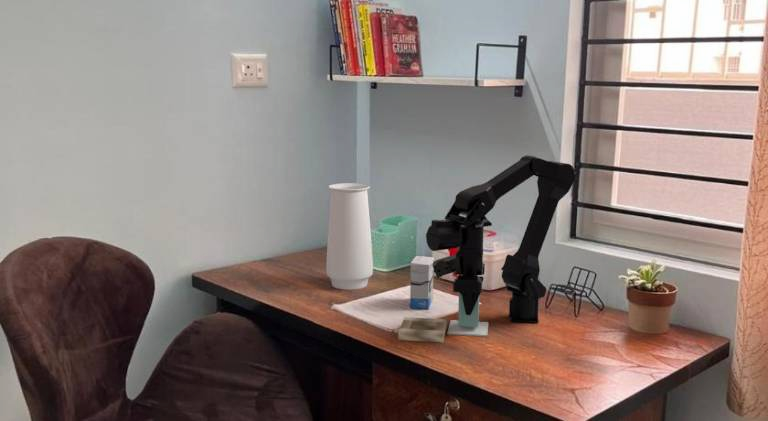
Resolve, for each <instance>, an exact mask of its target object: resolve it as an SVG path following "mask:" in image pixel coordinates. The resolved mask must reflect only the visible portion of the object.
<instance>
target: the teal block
mask: <svg viewBox="0 0 768 421" xmlns="http://www.w3.org/2000/svg"><path fill="white" fill-rule="evenodd" d="M457 314H458V319H457V320H458V326H469V327H478V322H480V318H479V317H480V296H479V297H478V300H477V302H476V304H475V306H474V309H473V311H472V313H471V315H466V313H465V308H464V303H463V299H462V295H461V294H460V293H459V292H458V313H457Z"/></svg>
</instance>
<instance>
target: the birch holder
mask: <svg viewBox="0 0 768 421" xmlns="http://www.w3.org/2000/svg"><path fill="white" fill-rule="evenodd" d="M447 329H448V319H447V318H446V319H444V318H443V319H442V318H431V317H430V318H429V317H427V318H426V317H411V316H410V317H409V316H405V317H404V318H403V319H402V322H401V324H400V327H399V329H398V332H397V334H398V335H397V340H398V341H412V342H428V343H443V344H444V340H445V336H446V332H447Z"/></svg>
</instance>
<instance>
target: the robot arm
mask: <svg viewBox="0 0 768 421" xmlns="http://www.w3.org/2000/svg"><path fill="white" fill-rule="evenodd" d="M576 174H577V173H576V172H575V168H574V166H573V165H571V164H570V163H565V162H559V161H553V160H545V159H542V158H540V157H539V156H534V155H524V156H522V157H520V159H519V160H518V161H516V162H515V163H514V164H512V165H510V166H509V167H508V168H506V169H504V170H503V171H501V172H499V174H497V175H496V176H494V177H492V178H490V179H489V180H488V181H485V182H484V183H482V184H477V185H474V186H473V185H472V186H471V187H470V186H469V187H468V188H466V189H463V190H461V191H460V192H458V193H457V194H456V196H455V199H454V200H455V201H454V203H453V204H452V205H451V207H450V208H449V210H448V212H447V213H446V215H445V216H444V219H432V220H431V225H430V226H429V227H428V228H427V231H426V233H425V240H426V243H427V244H426V245H427V246H428V248H429V250H431V251H432V252H436V251H445V250H454V249H456V251H455V254H453V255H448V256H445V257H442V258H439V259H436V260H433V265H432V266H433V274H435V276H436V278H437V279H439V278H442V277H443V276H446V275H448V274H453V273H454V275H455V276H456V277H455V278H453V279H454V280H453V282H452V283H453V284H452V285H453V286H452V287H453V290H452V291H453V292H454V293H458V294H459V293H460V294H461V295H462V299H463V303H464V308H465V313H466V315H471V313H472V311H473V309H474V306H475V304H476V302H477V300H478V297H479V298H480V295H481V294H482V291H483V282H484V275H485V272H486V271H485V269H486V264H485V263H484V261H483V260H484V258H483V257H484V227H491V226H493V223H492V222H491V221H490V220H489V219H488V218H487V217H486V215H487V214H488V213H490V212H491V211H492V210H493V209H494V207H495V205H496V203H497V202H498V200H499V199H501V198H502V197H503V196H505V195H506V194H508V193H509V192H510V191H512V190H514V189H516V188H517V187H519V185H521V184H523V183H524V182H526V181H527V180H529V179H530V178H531V177H533V176H535V177H537V181H536V182H537V191H538V195H537V199H536V201H535V203H534V207H533V209H532V212H531V215H530V218H529V221H528V223H527V226H526V229H525V231H524V234H523V237H522V239H521V242H520V245H519V248H518V250H517V251H516V252H514V254H512V255H511V254H507V255H506V257H505V260H504V263H503V266H502V267H501V268H500V270H501V271H502V272H501V278H502V281H503V283H504V284H505V287H506V290H507V291H508V292H511V293H512V294H511V296H510V297H509V304H508V305H509V308H508V309H509V310H508V316H509V318H510V321H511V322H517V323H518V322H519V323H539V302H540V301H539V300H540V299H542V298H544V297H545V296H546V292H547V287H545V285H543V283H542V282H541V281H540V280H539V277H540V276H539V275H540V271H541V270H540V268H541V267H540V262H539V255H540V254H541V251H542V248H543V245H544V242H545V240H546V237H547V234H548V232H549V228H550V226H551V223H552V220H553V217H554V215H555V213H556V210H557V206H558V204H559V202H560V201H561V199H563V198H564V197H565V196H566V195H567V194H568V193H569V192H570V190H571V188H572V186H573V184H574V182H575V180H576V176H577V175H576Z"/></svg>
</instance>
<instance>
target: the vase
mask: <svg viewBox="0 0 768 421" xmlns="http://www.w3.org/2000/svg"><path fill="white" fill-rule="evenodd" d="M370 188H371V186H370V185H369V184H364V183H356V182H354V183H353V182H352V183H351V182H349V183H347V182H345V183H344V182H343V183H342V182H341V183H334V184H330V185H328V189H329V190H330V201H329V215H328V229H327V230H328V231H327V245H326V246H327V248H326V262H325V263H326V270H325V271H326V275H327V277H328V278H330V281H331V285H332V287H333V288H336V289H338V290H345V291H346V290H347V291H349V290H352V291H353V290H359V289H364V288H366V287H367V286H368V282H369V279H370V277H372V275H373V274H374V266H373V264H374V263H373V261H374V260H373V247H372V232H371V231H372V230H371V219H370V209H369V195H368V190H370Z"/></svg>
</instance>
